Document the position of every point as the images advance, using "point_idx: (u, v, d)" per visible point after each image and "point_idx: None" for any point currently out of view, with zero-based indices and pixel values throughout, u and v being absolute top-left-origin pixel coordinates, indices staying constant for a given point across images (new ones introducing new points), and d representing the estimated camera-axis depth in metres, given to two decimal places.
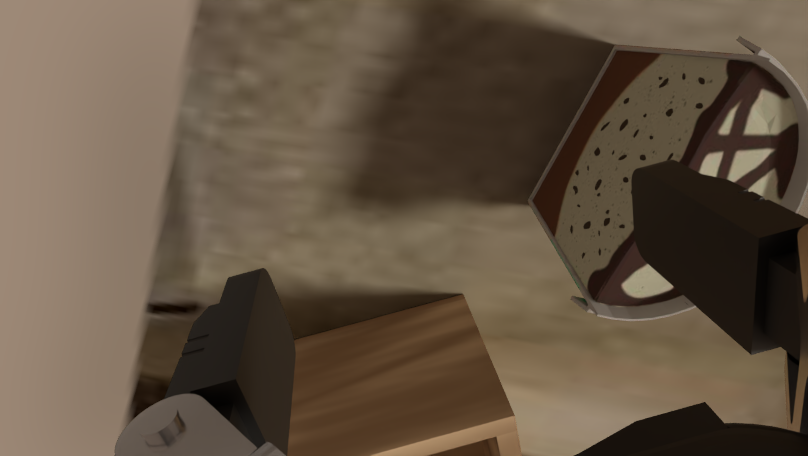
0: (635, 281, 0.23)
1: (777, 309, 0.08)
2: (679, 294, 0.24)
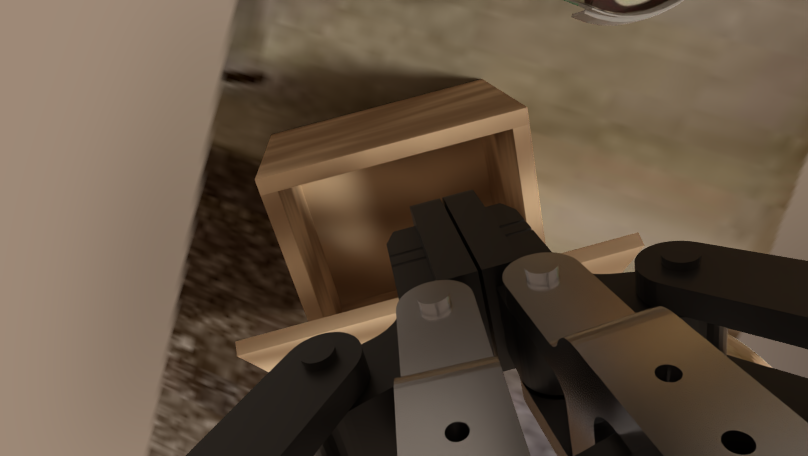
0: None
1: (506, 332, 0.09)
2: (656, 3, 0.30)
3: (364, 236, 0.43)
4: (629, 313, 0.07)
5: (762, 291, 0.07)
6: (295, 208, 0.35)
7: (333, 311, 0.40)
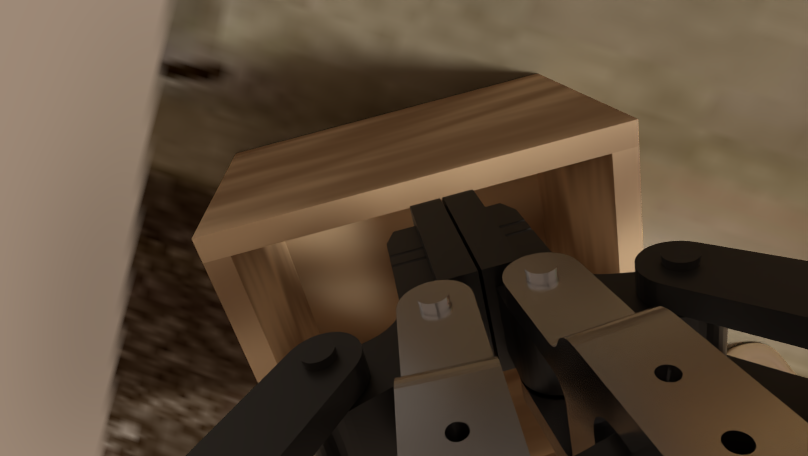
0: None
1: (506, 332, 0.09)
2: None
3: (369, 292, 0.31)
4: (629, 313, 0.07)
5: (762, 291, 0.07)
6: (266, 269, 0.23)
7: None
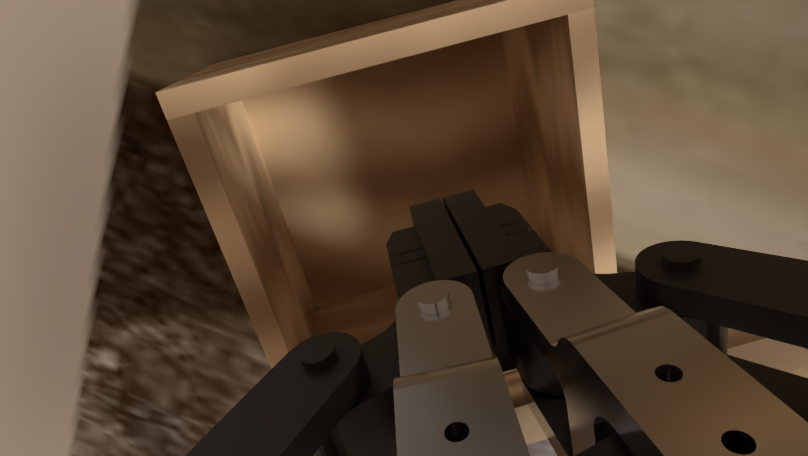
0: None
1: (507, 332, 0.09)
2: None
3: (346, 211, 0.31)
4: (630, 313, 0.07)
5: (762, 291, 0.07)
6: (236, 156, 0.24)
7: (299, 313, 0.28)
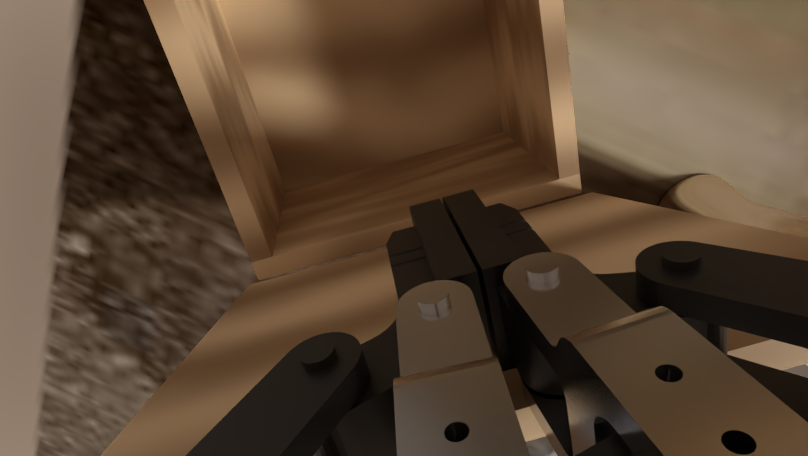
0: None
1: (507, 332, 0.09)
2: None
3: (313, 87, 0.31)
4: (630, 313, 0.07)
5: (762, 291, 0.07)
6: None
7: (263, 177, 0.28)
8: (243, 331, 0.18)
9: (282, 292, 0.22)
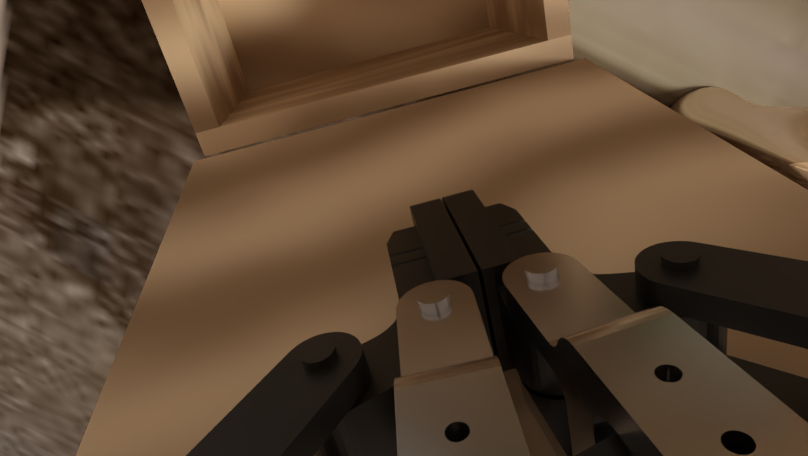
0: None
1: (506, 332, 0.09)
2: None
3: None
4: (629, 313, 0.07)
5: (762, 291, 0.07)
6: None
7: (216, 53, 0.25)
8: (201, 255, 0.16)
9: (237, 185, 0.20)
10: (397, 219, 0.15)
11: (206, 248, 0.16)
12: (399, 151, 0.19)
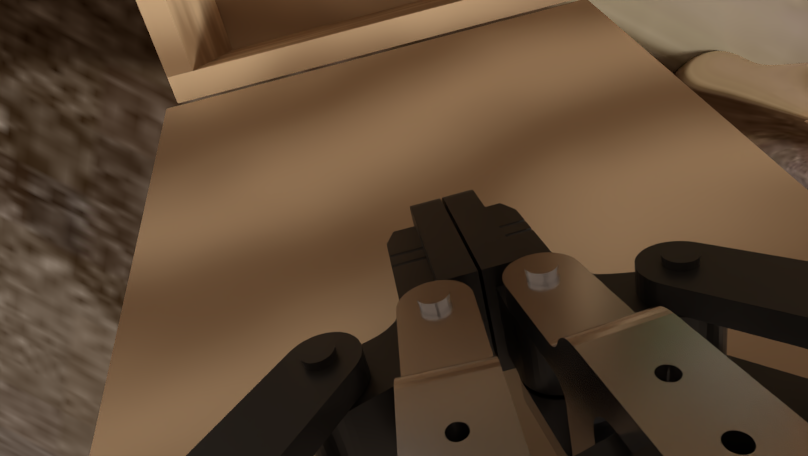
0: None
1: (506, 332, 0.09)
2: None
3: None
4: (629, 313, 0.07)
5: (762, 291, 0.07)
6: None
7: None
8: (188, 233, 0.16)
9: (217, 144, 0.19)
10: (392, 200, 0.15)
11: (192, 224, 0.16)
12: (390, 111, 0.18)
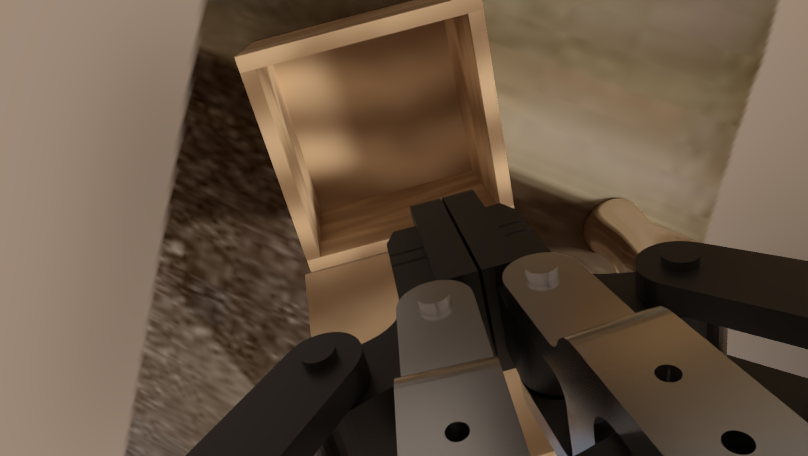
0: None
1: (506, 332, 0.09)
2: None
3: (341, 143, 0.46)
4: (629, 313, 0.07)
5: (762, 291, 0.07)
6: (274, 98, 0.39)
7: (311, 205, 0.43)
8: None
9: (338, 303, 0.38)
10: None
11: None
12: None
